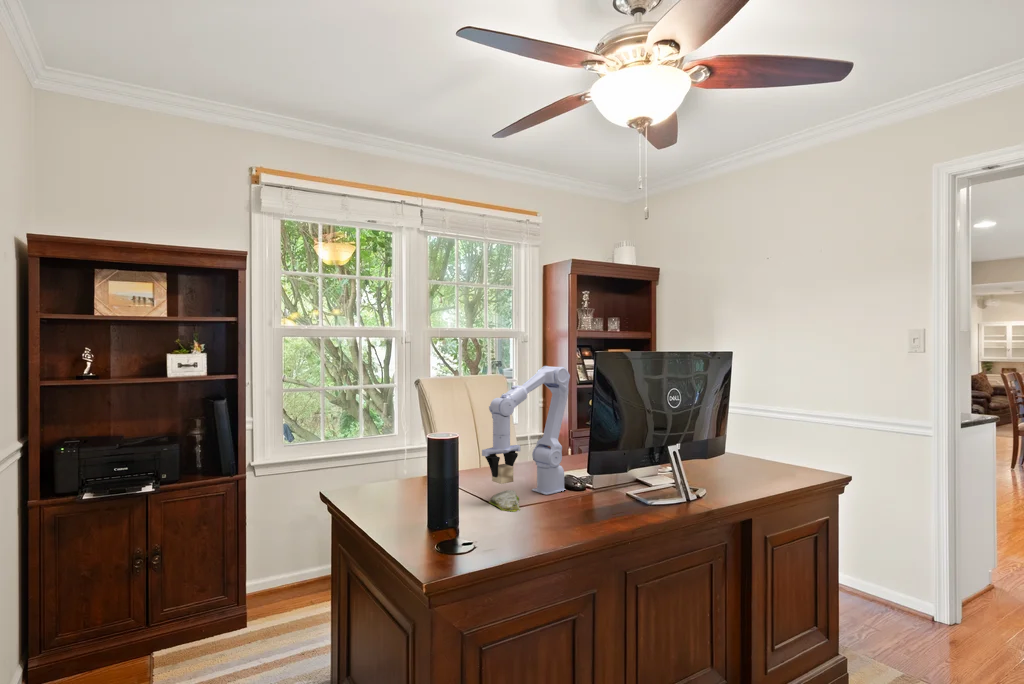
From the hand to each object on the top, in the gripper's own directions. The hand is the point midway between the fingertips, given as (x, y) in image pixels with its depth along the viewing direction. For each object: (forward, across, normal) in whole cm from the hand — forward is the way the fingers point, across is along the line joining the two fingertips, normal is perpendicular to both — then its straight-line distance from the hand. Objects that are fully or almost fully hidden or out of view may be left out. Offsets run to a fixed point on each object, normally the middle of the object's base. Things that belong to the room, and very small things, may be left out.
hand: (501, 475), depth 186 cm
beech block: (+2, 0, -1) cm, 2 cm away
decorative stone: (+9, +1, -1) cm, 9 cm away
